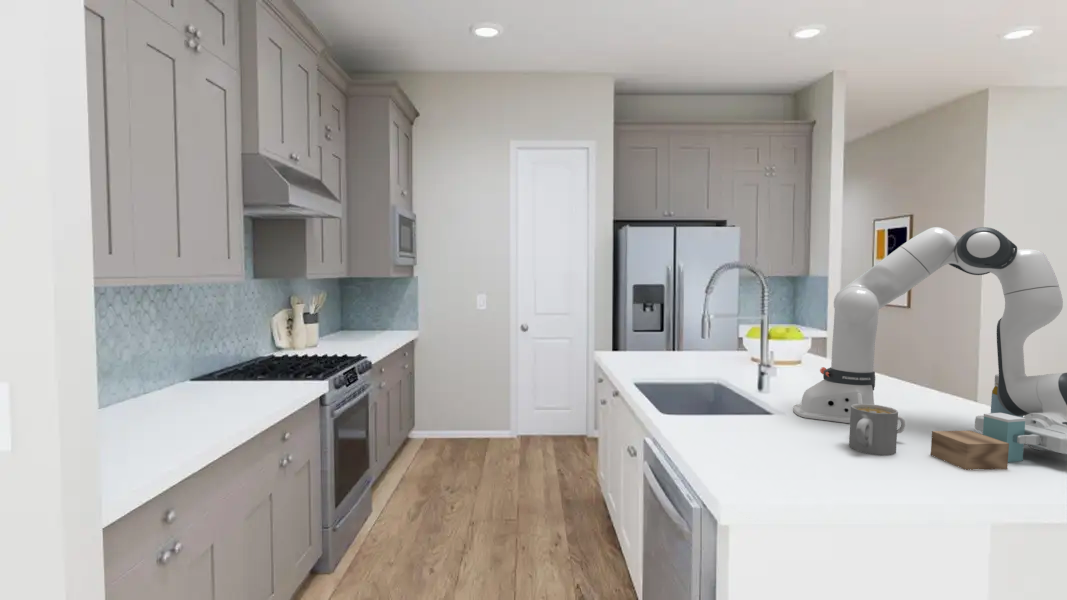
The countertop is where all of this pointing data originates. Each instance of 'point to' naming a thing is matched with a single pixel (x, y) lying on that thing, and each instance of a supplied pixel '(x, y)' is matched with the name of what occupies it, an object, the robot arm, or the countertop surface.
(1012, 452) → the tea tin
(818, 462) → the countertop surface
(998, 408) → the bottle
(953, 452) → the walnut block
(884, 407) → the coffee mug
